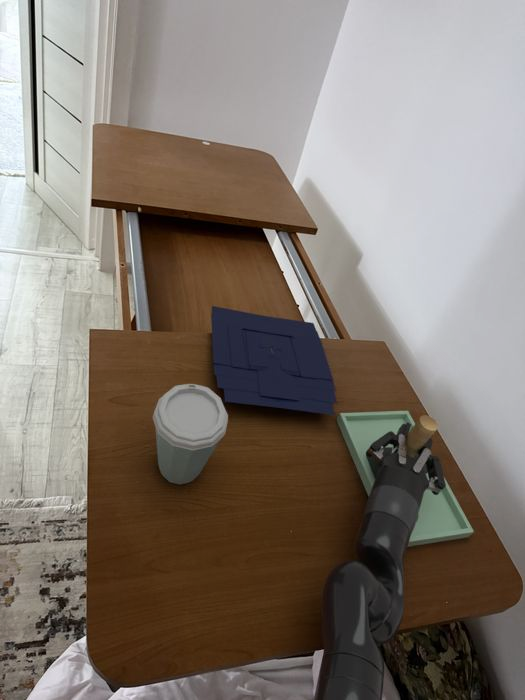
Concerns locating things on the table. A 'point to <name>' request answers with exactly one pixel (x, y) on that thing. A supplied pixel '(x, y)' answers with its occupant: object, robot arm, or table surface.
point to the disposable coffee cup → (187, 430)
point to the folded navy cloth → (271, 362)
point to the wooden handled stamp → (411, 441)
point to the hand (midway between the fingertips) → (416, 431)
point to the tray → (436, 510)
